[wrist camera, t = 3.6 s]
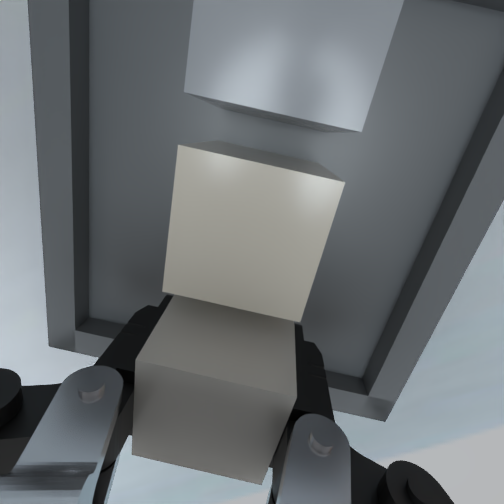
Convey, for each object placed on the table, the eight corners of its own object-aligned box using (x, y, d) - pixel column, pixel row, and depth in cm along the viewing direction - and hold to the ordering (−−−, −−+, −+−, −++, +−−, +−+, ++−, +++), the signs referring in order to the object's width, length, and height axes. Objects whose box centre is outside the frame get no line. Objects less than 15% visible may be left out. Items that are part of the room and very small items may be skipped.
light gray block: (243, -25, 9) (211, -168, 5) (363, 2, 9) (441, -117, 5) (222, 109, 10) (183, 91, 6) (326, 132, 10) (361, 132, 6)
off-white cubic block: (218, 140, 10) (178, 144, 6) (318, 163, 10) (345, 182, 6) (203, 235, 12) (162, 291, 8) (292, 255, 12) (299, 322, 8)
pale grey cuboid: (193, 263, 11) (135, 359, 7) (293, 286, 11) (296, 397, 7) (183, 339, 12) (131, 454, 8) (269, 359, 12) (261, 485, 8)
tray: (56, -139, 8) (16, -187, 7) (580, -20, 9) (635, -47, 7) (69, 327, 15) (48, 346, 13) (375, 396, 15) (385, 421, 13)
